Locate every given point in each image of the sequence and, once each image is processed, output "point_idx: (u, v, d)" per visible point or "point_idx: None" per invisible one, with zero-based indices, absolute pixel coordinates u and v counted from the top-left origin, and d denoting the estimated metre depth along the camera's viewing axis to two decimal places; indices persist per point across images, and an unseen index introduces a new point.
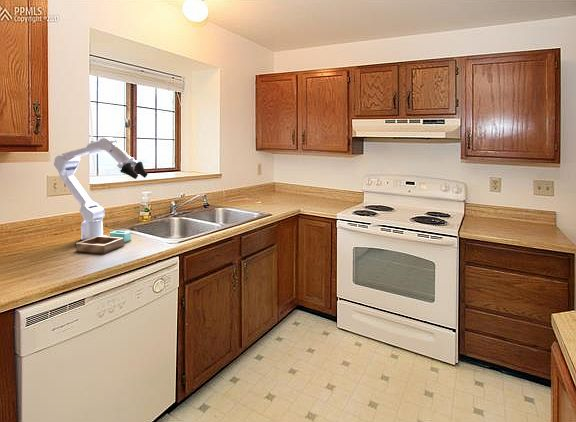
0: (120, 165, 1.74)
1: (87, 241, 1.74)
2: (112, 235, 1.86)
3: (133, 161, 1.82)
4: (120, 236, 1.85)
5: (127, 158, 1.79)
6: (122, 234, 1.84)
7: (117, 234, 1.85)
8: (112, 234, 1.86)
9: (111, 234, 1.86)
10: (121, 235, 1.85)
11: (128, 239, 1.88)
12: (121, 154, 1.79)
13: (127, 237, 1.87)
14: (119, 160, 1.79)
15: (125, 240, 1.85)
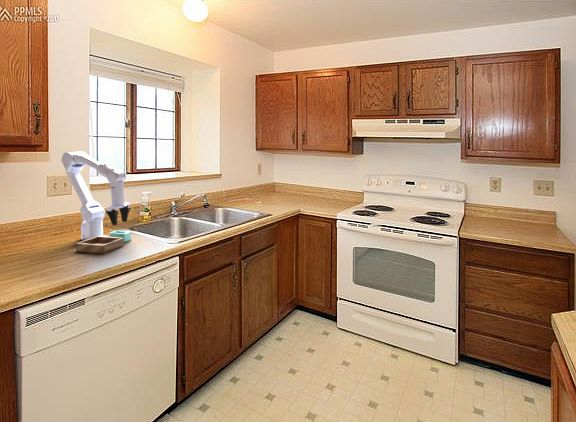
0: (109, 209, 1.78)
1: (87, 241, 1.74)
2: (112, 235, 1.86)
3: None
4: (120, 236, 1.85)
5: (120, 203, 1.83)
6: (122, 234, 1.84)
7: (117, 234, 1.85)
8: (112, 234, 1.86)
9: (111, 234, 1.86)
10: (121, 235, 1.85)
11: (128, 239, 1.88)
12: (118, 197, 1.82)
13: (127, 237, 1.87)
14: (113, 199, 1.82)
15: (125, 240, 1.85)
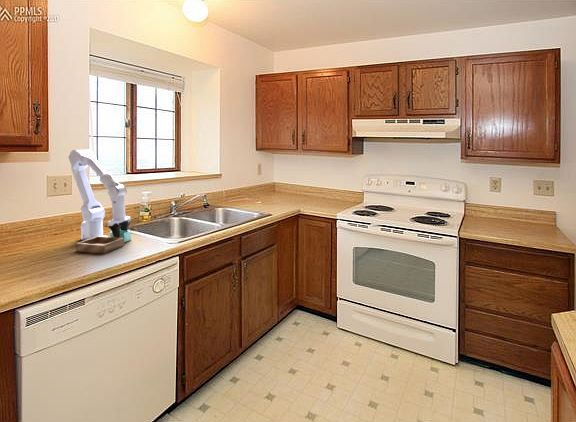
0: (110, 224, 1.79)
1: (87, 241, 1.74)
2: (112, 235, 1.86)
3: None
4: (120, 236, 1.85)
5: (121, 218, 1.84)
6: (122, 234, 1.84)
7: None
8: (112, 234, 1.86)
9: (111, 234, 1.86)
10: (121, 235, 1.85)
11: (128, 239, 1.88)
12: (119, 211, 1.83)
13: (127, 237, 1.87)
14: (114, 214, 1.83)
15: (125, 240, 1.85)
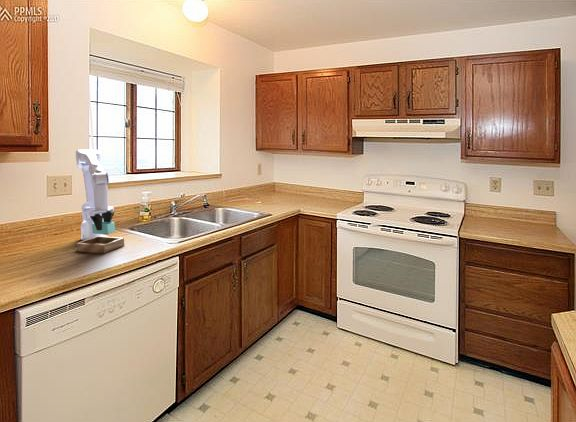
0: (91, 214, 1.67)
1: (87, 241, 1.74)
2: (94, 226, 1.73)
3: None
4: (103, 227, 1.72)
5: (104, 207, 1.72)
6: (105, 225, 1.72)
7: None
8: (94, 225, 1.73)
9: (93, 225, 1.73)
10: (104, 226, 1.72)
11: (112, 230, 1.75)
12: (102, 200, 1.71)
13: (111, 228, 1.74)
14: (96, 203, 1.71)
15: (109, 232, 1.73)
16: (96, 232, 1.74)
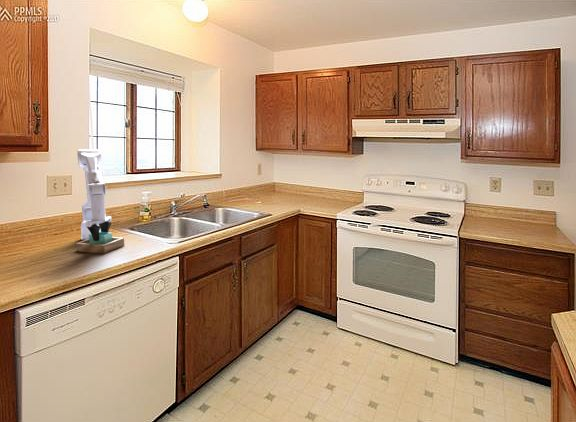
0: (88, 225, 1.66)
1: (87, 241, 1.74)
2: (91, 237, 1.72)
3: None
4: (100, 238, 1.71)
5: (101, 218, 1.70)
6: (102, 236, 1.70)
7: None
8: (91, 236, 1.72)
9: (90, 236, 1.72)
10: (101, 237, 1.71)
11: (109, 241, 1.74)
12: (99, 211, 1.69)
13: (108, 239, 1.73)
14: (93, 214, 1.69)
15: (106, 242, 1.72)
16: (93, 242, 1.72)
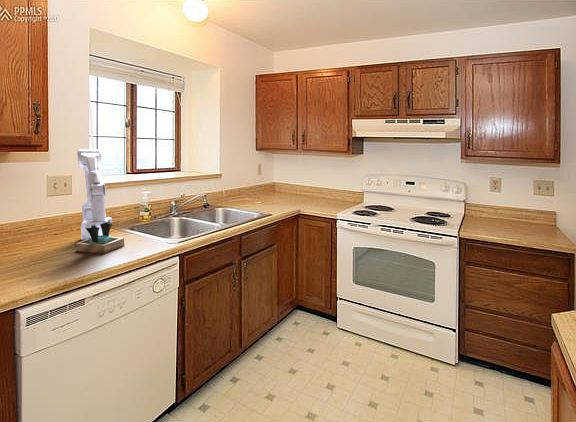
0: (88, 226, 1.66)
1: (87, 241, 1.74)
2: None
3: None
4: (100, 241, 1.71)
5: (101, 219, 1.70)
6: (102, 239, 1.71)
7: None
8: None
9: (91, 239, 1.72)
10: (101, 240, 1.71)
11: None
12: (99, 212, 1.69)
13: (108, 242, 1.73)
14: (93, 215, 1.69)
15: None
16: None
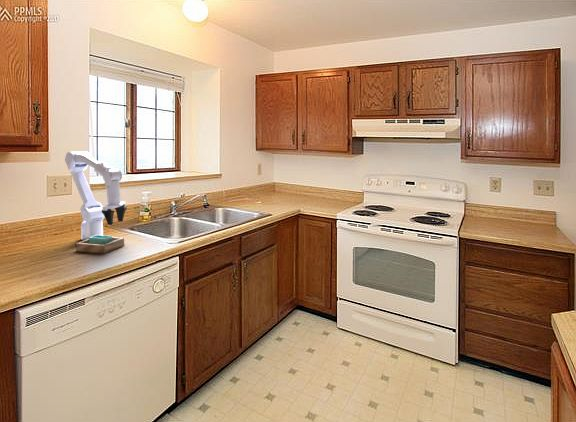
0: (104, 209, 1.75)
1: (87, 241, 1.74)
2: (92, 240, 1.72)
3: None
4: (100, 241, 1.71)
5: (116, 203, 1.80)
6: (102, 239, 1.71)
7: (97, 239, 1.71)
8: (92, 239, 1.72)
9: (91, 239, 1.72)
10: (101, 240, 1.71)
11: None
12: (114, 196, 1.79)
13: (108, 242, 1.73)
14: (109, 199, 1.79)
15: None
16: None
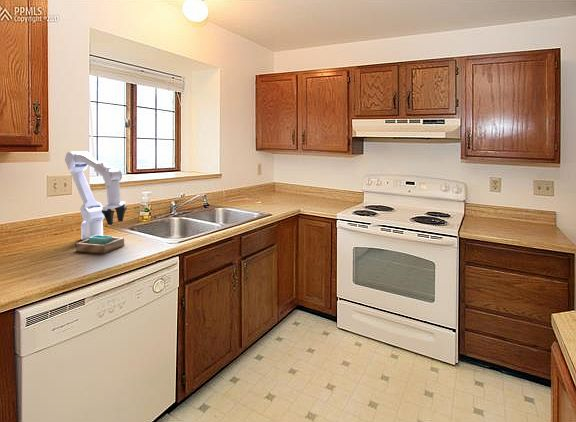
0: (104, 209, 1.75)
1: (87, 241, 1.74)
2: (92, 240, 1.72)
3: None
4: (100, 241, 1.71)
5: (116, 203, 1.80)
6: (102, 239, 1.71)
7: (97, 239, 1.71)
8: (92, 239, 1.72)
9: (91, 239, 1.72)
10: (101, 240, 1.71)
11: None
12: (114, 196, 1.79)
13: (108, 242, 1.73)
14: (109, 199, 1.79)
15: None
16: None
